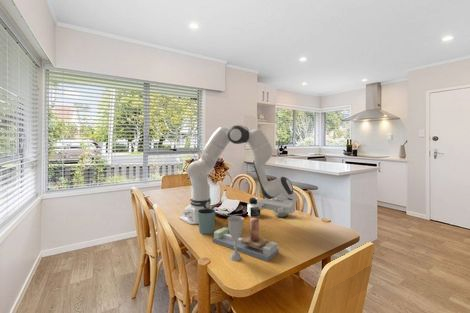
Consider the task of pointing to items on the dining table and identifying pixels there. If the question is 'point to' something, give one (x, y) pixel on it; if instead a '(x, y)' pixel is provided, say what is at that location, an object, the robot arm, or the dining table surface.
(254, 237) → the carriage
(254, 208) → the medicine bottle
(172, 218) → the dining table surface
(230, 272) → the dining table surface
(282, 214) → the grey rounded piece
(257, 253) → the rail board
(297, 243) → the dining table surface
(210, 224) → the teal cup
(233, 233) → the chalice
